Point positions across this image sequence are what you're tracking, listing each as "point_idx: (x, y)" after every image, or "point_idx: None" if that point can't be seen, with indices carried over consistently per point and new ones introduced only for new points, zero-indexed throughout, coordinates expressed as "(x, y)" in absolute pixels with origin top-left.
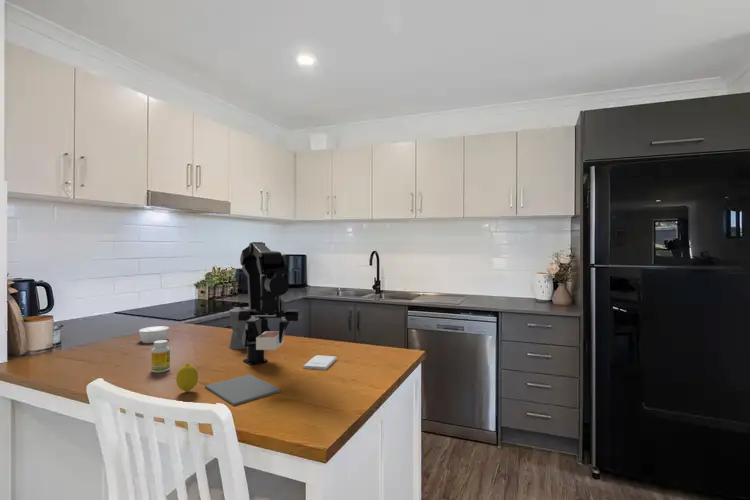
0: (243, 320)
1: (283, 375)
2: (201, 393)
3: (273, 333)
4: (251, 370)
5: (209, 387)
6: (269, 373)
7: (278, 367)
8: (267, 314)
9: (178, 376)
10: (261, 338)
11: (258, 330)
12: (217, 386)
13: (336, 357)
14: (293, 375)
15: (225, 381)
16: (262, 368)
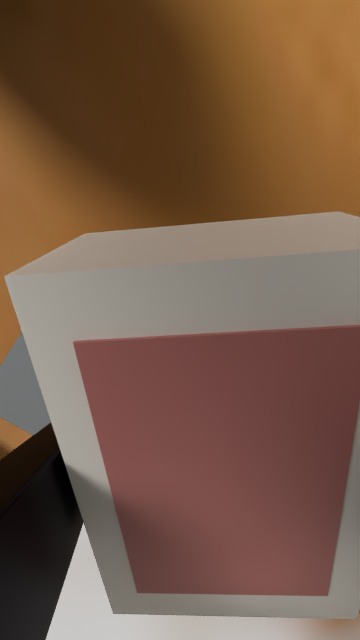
0: None
1: (263, 203)
2: (13, 442)
3: (257, 449)
4: (22, 133)
5: (9, 419)
6: (164, 178)
7: (175, 18)
8: None
9: None
10: (176, 602)
11: (37, 610)
12: (31, 408)
13: None
14: (326, 195)
15: (22, 357)
16: (69, 70)
